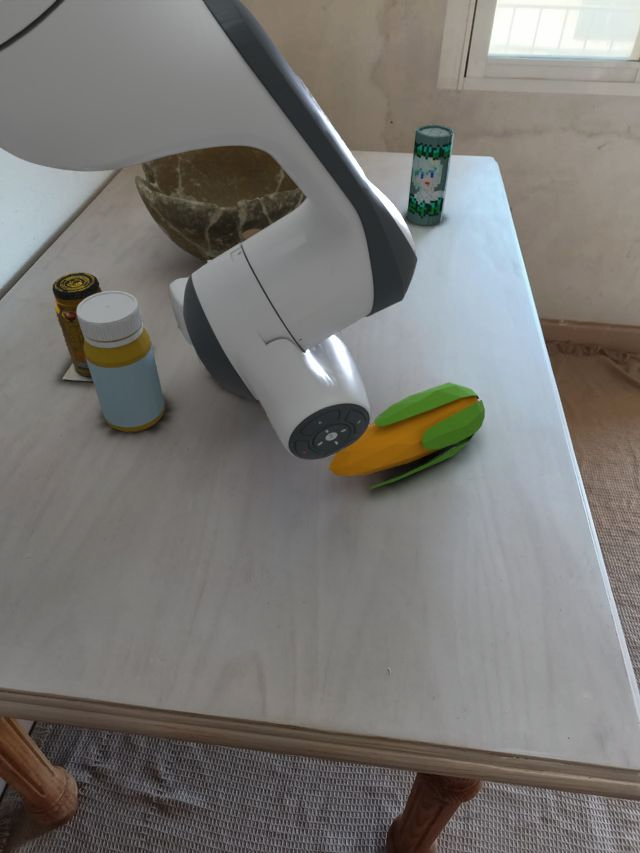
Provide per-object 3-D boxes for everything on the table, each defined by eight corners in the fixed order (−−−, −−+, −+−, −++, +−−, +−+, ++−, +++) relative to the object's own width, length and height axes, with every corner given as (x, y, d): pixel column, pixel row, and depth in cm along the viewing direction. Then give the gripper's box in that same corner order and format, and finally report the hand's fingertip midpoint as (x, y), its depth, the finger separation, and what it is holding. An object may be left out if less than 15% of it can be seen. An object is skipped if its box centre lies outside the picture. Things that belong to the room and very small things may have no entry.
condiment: (83, 346, 84) (58, 266, 76) (145, 350, 84) (126, 269, 76) (62, 380, 79) (32, 298, 71) (127, 384, 78) (105, 302, 70)
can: (404, 222, 112) (413, 134, 102) (411, 208, 116) (420, 122, 106) (437, 227, 111) (450, 139, 101) (444, 213, 115) (456, 126, 105)
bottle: (122, 444, 71) (89, 334, 61) (95, 412, 75) (60, 303, 64) (176, 417, 74) (154, 309, 64) (148, 388, 78) (122, 281, 68)
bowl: (136, 302, 92) (114, 203, 82) (163, 221, 112) (148, 133, 102) (323, 300, 93) (324, 201, 83) (318, 219, 113) (318, 132, 102)
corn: (509, 390, 66) (352, 464, 58) (498, 445, 71) (352, 519, 63) (461, 358, 71) (310, 422, 63) (454, 411, 76) (313, 476, 68)
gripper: (387, 284, 61) (344, 222, 71) (175, 314, 57) (160, 245, 66) (383, 337, 65) (343, 272, 75) (185, 370, 61) (170, 296, 71)
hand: (255, 259), depth 71 cm, fingers open, 8 cm apart
